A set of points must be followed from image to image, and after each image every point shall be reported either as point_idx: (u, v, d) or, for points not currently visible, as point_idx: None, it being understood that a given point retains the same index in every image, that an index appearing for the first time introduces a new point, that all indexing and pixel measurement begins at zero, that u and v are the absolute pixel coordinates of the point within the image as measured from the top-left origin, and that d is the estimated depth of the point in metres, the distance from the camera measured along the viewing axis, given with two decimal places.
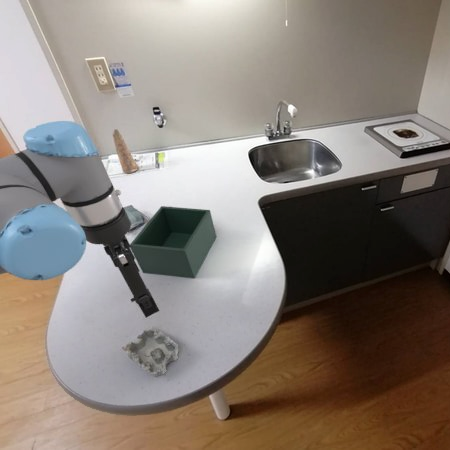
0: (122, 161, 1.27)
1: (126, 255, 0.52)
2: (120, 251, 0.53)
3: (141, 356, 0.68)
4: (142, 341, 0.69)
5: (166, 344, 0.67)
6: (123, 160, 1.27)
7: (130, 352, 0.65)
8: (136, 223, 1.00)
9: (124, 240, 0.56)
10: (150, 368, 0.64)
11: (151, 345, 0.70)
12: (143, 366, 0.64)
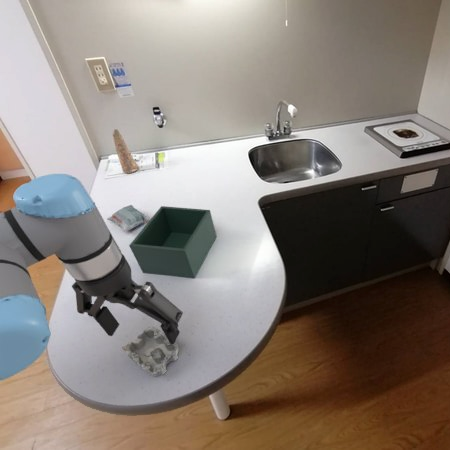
0: (122, 161, 1.27)
1: (150, 285, 0.53)
2: (139, 286, 0.52)
3: (141, 356, 0.68)
4: (142, 341, 0.69)
5: (166, 344, 0.67)
6: (123, 160, 1.27)
7: (130, 352, 0.65)
8: (136, 223, 1.00)
9: None
10: (150, 368, 0.64)
11: (151, 345, 0.70)
12: (143, 366, 0.64)
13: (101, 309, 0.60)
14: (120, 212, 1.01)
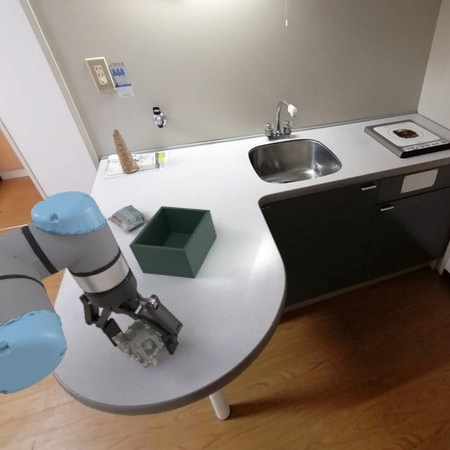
0: (122, 161, 1.27)
1: (155, 298, 0.55)
2: (145, 298, 0.54)
3: (132, 347, 0.65)
4: (133, 332, 0.66)
5: (158, 334, 0.64)
6: (123, 160, 1.27)
7: (120, 343, 0.62)
8: (136, 223, 1.00)
9: None
10: (140, 359, 0.61)
11: (142, 336, 0.67)
12: (133, 357, 0.61)
13: (108, 321, 0.62)
14: (120, 212, 1.01)
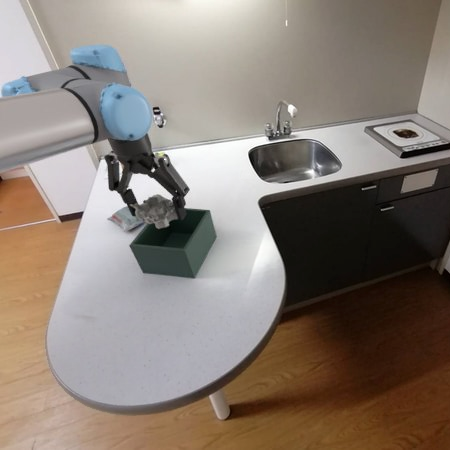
0: None
1: (166, 156, 0.66)
2: (158, 156, 0.66)
3: (147, 217, 0.76)
4: (147, 205, 0.77)
5: (169, 204, 0.75)
6: None
7: (137, 208, 0.74)
8: (136, 223, 1.00)
9: None
10: (154, 220, 0.72)
11: None
12: (148, 217, 0.72)
13: (127, 190, 0.74)
14: (120, 212, 1.01)
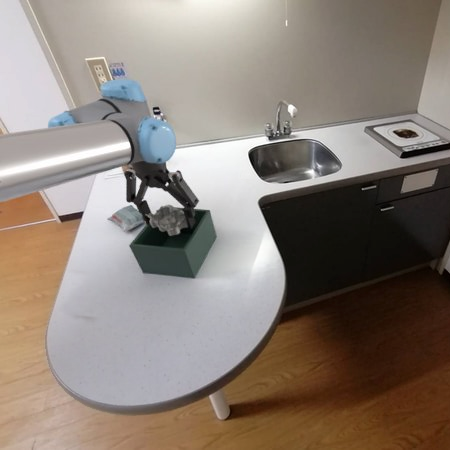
0: None
1: (179, 172, 0.75)
2: (172, 172, 0.74)
3: (160, 225, 0.85)
4: (160, 214, 0.86)
5: (179, 214, 0.84)
6: None
7: (151, 217, 0.82)
8: (136, 223, 1.00)
9: None
10: (167, 228, 0.81)
11: (167, 219, 0.87)
12: (162, 226, 0.81)
13: (142, 201, 0.82)
14: (120, 212, 1.01)
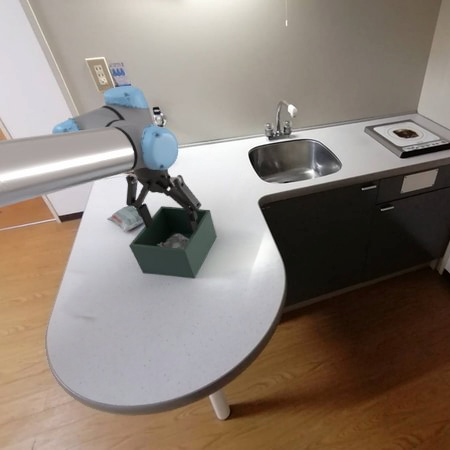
0: None
1: (180, 177, 0.75)
2: (173, 177, 0.75)
3: None
4: (170, 243, 0.93)
5: None
6: None
7: None
8: (136, 223, 1.00)
9: None
10: None
11: (176, 247, 0.94)
12: None
13: (142, 205, 0.83)
14: (120, 212, 1.01)
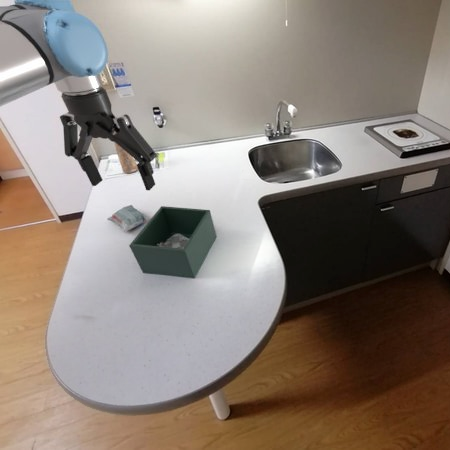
0: (122, 161, 1.27)
1: (127, 117, 0.61)
2: (118, 117, 0.61)
3: None
4: (170, 243, 0.93)
5: None
6: (123, 160, 1.27)
7: None
8: (136, 223, 1.00)
9: None
10: None
11: (176, 247, 0.94)
12: None
13: (86, 156, 0.69)
14: (120, 212, 1.01)
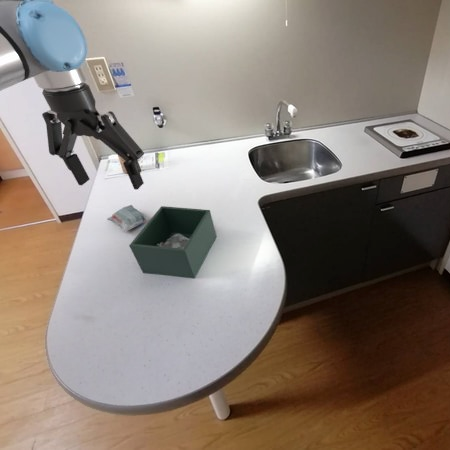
0: (122, 161, 1.27)
1: (111, 114, 0.59)
2: (102, 114, 0.59)
3: None
4: (170, 243, 0.93)
5: None
6: (123, 160, 1.27)
7: None
8: (136, 223, 1.00)
9: None
10: None
11: (176, 247, 0.94)
12: None
13: (71, 155, 0.67)
14: (120, 212, 1.01)
